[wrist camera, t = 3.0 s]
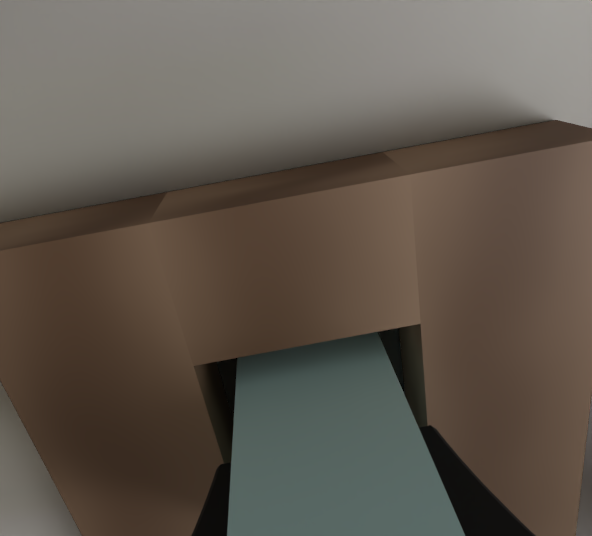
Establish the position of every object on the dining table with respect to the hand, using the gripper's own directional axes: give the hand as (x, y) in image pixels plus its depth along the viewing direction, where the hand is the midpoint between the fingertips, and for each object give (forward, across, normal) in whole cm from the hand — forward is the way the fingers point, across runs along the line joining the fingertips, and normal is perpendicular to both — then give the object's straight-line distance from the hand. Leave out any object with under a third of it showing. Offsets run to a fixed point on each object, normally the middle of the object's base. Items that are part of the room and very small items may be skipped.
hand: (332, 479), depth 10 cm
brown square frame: (+3, 0, 0) cm, 3 cm away
